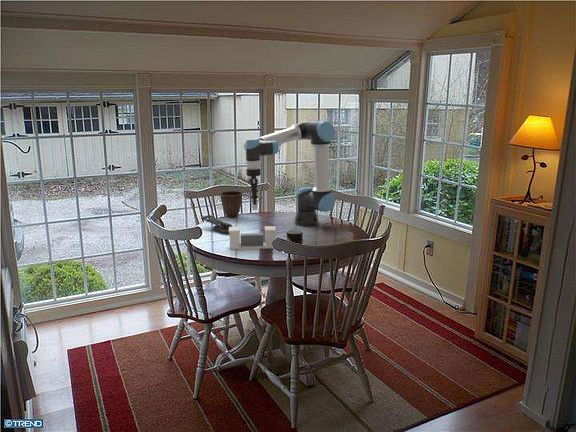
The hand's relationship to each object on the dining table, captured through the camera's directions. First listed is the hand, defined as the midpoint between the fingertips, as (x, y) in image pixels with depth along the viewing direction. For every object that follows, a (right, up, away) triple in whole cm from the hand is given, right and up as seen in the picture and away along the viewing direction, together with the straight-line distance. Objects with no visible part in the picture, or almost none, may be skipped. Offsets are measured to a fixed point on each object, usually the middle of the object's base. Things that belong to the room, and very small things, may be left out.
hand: (254, 207), depth 266 cm
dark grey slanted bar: (-24, -13, +31) cm, 41 cm away
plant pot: (-19, -6, +62) cm, 65 cm away
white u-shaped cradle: (-1, -21, -2) cm, 21 cm away
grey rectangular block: (-1, -20, -2) cm, 21 cm away
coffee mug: (+22, -23, -9) cm, 33 cm away
